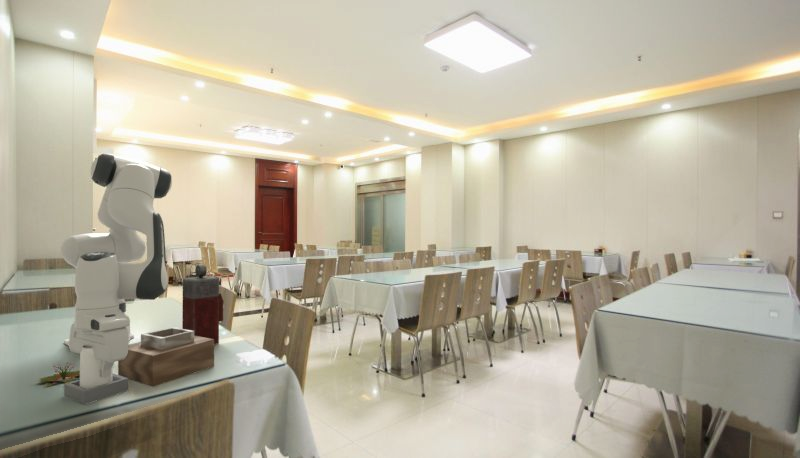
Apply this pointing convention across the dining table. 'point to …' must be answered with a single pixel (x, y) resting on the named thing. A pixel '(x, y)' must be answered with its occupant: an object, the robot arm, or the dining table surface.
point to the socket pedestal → (166, 356)
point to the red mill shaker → (202, 305)
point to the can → (91, 370)
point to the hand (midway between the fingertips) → (97, 374)
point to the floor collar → (95, 390)
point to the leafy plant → (60, 376)
